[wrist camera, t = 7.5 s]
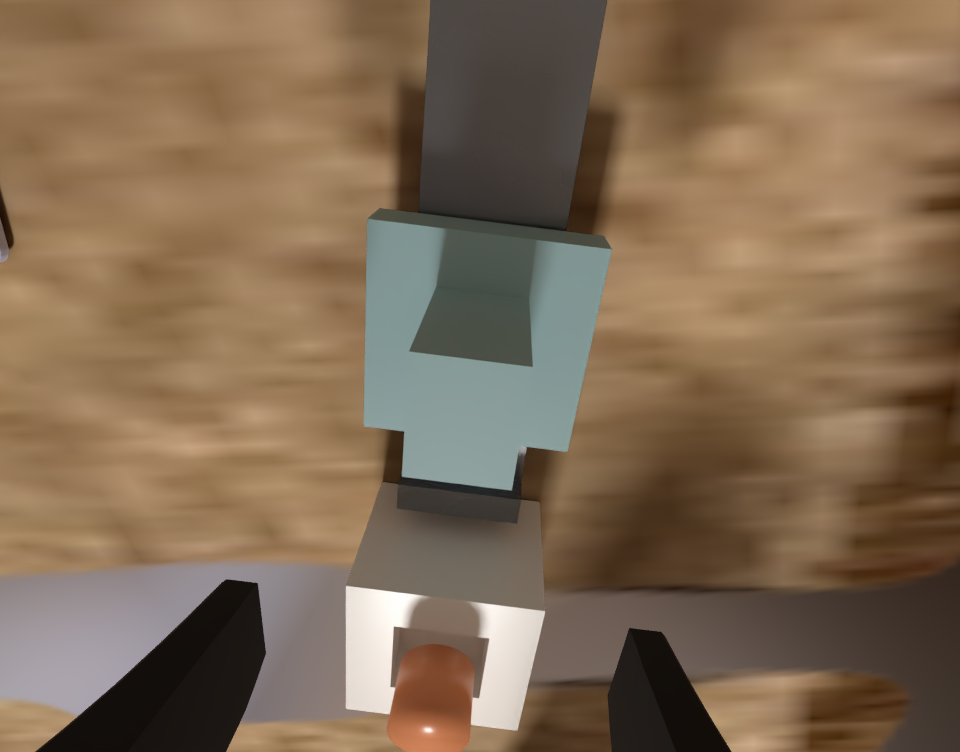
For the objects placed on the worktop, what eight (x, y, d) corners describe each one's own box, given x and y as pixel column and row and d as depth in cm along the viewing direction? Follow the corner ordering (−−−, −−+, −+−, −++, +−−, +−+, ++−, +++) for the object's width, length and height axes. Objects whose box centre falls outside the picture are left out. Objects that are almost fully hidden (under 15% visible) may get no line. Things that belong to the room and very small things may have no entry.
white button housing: (377, 593, 24) (346, 708, 19) (382, 482, 21) (346, 585, 17) (517, 611, 24) (517, 730, 19) (539, 501, 21) (545, 611, 17)
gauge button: (398, 688, 18) (385, 751, 17) (401, 639, 17) (388, 702, 16) (470, 697, 18) (465, 762, 17) (478, 649, 17) (473, 713, 16)
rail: (409, 463, 21) (396, 508, 18) (495, -872, 9) (487, -1198, 7) (516, 477, 21) (516, 523, 18) (747, -845, 9) (824, -1160, 7)
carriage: (374, 402, 18) (320, 519, 13) (379, 208, 15) (314, 263, 10) (563, 426, 18) (581, 552, 13) (603, 236, 15) (645, 305, 10)
